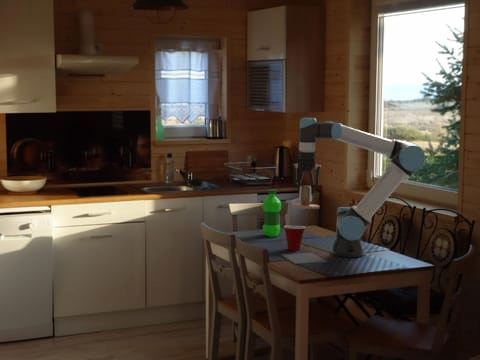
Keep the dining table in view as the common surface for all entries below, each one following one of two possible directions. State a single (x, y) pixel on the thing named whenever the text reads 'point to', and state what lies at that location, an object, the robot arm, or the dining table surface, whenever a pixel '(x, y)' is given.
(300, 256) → the mat
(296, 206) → the lid
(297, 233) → the plastic cup
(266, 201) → the plastic bottle
